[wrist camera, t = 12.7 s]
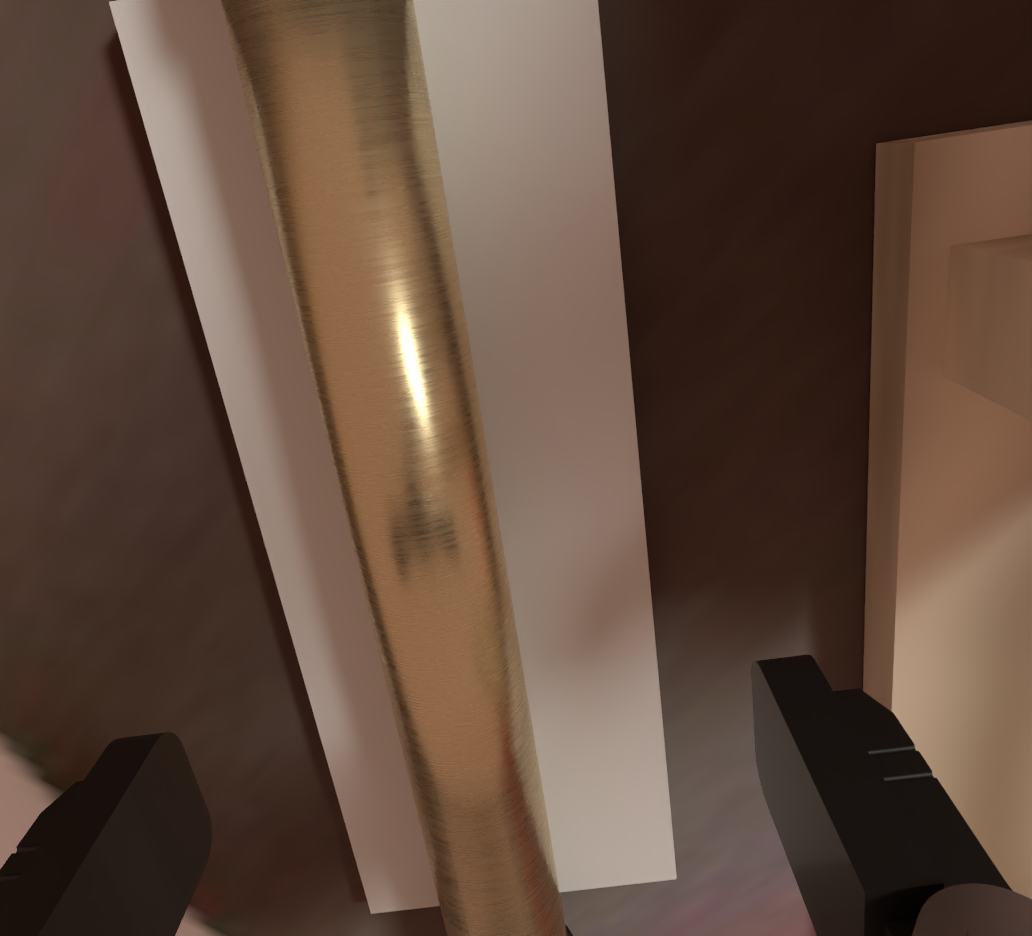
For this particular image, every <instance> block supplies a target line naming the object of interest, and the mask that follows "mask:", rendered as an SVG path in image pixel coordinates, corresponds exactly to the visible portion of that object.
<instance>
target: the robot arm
mask: <svg viewBox="0 0 1032 936" xmlns="http://www.w3.org/2000/svg"><path fill="white" fill-rule="evenodd" d="M751 674H752V696H753V715H754V735H755V753H756V761H757V767H758V773H759V778H760V782H761V786H762V790H763V793H764V796H765V799H766V802H767V805H768V808H769V810H770V813H771V816H772V818H773V821H774V823H775V826H776V829H777V831H778V834H779V837H780V839H781V842H782V844H783V847H784V850H785V852H786V855H787V858H788V860H789V863H790V866H791V868H792V871H793V873H794V876H795V879H796V881H797V884H798V887H799V889H800V892H801V895H802V897H803V900H804V902H805V905H806V908H807V910H808V913H809V916H810V918H811V921H812V923H813V926H814V929H815V931H816V934H817V936H1032V899H1030V898H1028V897H1026V896H1024V895H1021V894H1019V893H1017V892H1014V891H1013V890H1012V889H1011V888H1010V886H1009V885H1008V884H1007V882H1006V881H1005V880H1004V878H1003V877H1002V875H1001V874H1000V872H999V871H998V869H997V868H996V866H995V865H994V863H993V862H992V860H991V859H990V857H989V856H988V854H987V853H986V851H985V850H984V848H983V847H982V845H981V844H980V842H979V841H978V839H977V838H976V836H975V835H974V833H973V832H972V830H971V829H970V827H969V826H968V824H967V823H966V821H965V820H964V818H963V817H962V815H961V814H960V812H959V811H958V809H957V808H956V806H955V805H954V803H953V801H952V800H951V798H950V797H949V795H948V794H947V792H946V791H945V789H944V788H943V786H942V785H941V783H940V782H939V780H938V779H937V778H934V777H933V774H932V770H931V768H930V767H929V765H928V764H927V762H926V761H925V759H924V758H923V756H922V755H921V753H920V752H919V751H916V749H915V744H914V743H913V741H912V740H911V738H910V737H909V735H908V734H907V732H906V731H905V729H904V728H903V726H902V725H901V723H900V722H899V720H898V719H897V717H896V716H895V714H894V713H893V712H891V711H890V710H889V709H887V708H886V707H885V706H883V705H882V704H880V703H879V702H878V701H876V700H875V699H873V698H872V697H871V696H869V695H868V694H867V693H865V692H864V691H862V690H861V689H852V690H844V691H836V692H833V691H832V689H831V687H830V685H829V684H828V682H827V680H826V679H825V677H824V675H823V673H822V672H821V670H820V668H819V667H818V665H817V663H816V661H815V660H814V658H813V657H812V656H810V655H801V656H793V657H785V658H777V659H769V660H761V661H754V662H753V664H752V671H751ZM211 836H212V831H211V821H210V816H209V813H208V810H207V807H206V805H205V802H204V799H203V797H202V794H201V792H200V789H199V786H198V784H197V781H196V779H195V776H194V774H193V771H192V768H191V766H190V763H189V761H188V758H187V755H186V753H185V750H184V748H183V745H182V743H181V741H180V739H179V738H178V737H177V736H176V735H175V734H173V733H170V732H167V733H159V734H151V735H143V736H135V737H127V738H119V739H116V740H114V741H112V742H111V743H110V744H109V745H108V746H107V748H106V749H105V750H104V752H103V753H102V755H101V756H100V758H99V759H98V761H97V762H96V764H95V765H94V767H93V768H92V769H91V771H90V772H89V774H88V775H87V777H86V778H85V780H84V781H78V782H76V783H74V784H73V785H72V786H71V787H70V788H69V789H68V790H66V791H65V792H64V793H63V794H62V795H61V796H60V797H59V798H57V799H56V800H55V801H54V802H53V803H52V804H51V805H49V806H48V807H47V808H46V809H45V810H44V811H43V812H41V814H40V815H39V816H38V818H37V819H36V821H35V822H34V823H33V825H32V826H31V828H30V829H29V830H28V832H27V833H26V835H25V836H24V837H23V839H22V840H21V842H20V843H19V844H18V846H17V852H16V853H14V854H11V856H10V857H9V858H8V860H7V861H6V863H5V864H4V865H3V867H2V868H1V869H0V936H175V934H176V932H177V930H178V927H179V925H180V923H181V920H182V918H183V916H184V914H185V911H186V909H187V907H188V904H189V902H190V900H191V898H192V895H193V893H194V891H195V888H196V886H197V884H198V881H199V879H200V877H201V875H202V872H203V870H204V868H205V865H206V863H207V860H208V857H209V853H210V847H211Z"/></svg>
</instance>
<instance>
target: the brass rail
mask: <svg viewBox="0 0 1032 936" xmlns="http://www.w3.org/2000/svg"><path fill="white" fill-rule="evenodd" d="M221 3H222V7H223V11H224V16H225V20H226V24H227V28H228V32H229V36H230V40H231V45H232V49H233V53H234V57H235V61H236V65H237V69H238V73H239V78H240V82H241V86H242V90H243V94H244V98H245V102H246V107H247V111H248V115H249V119H250V123H251V127H252V131H253V135H254V140H255V144H256V148H257V152H258V156H259V160H260V164H261V169H262V173H263V177H264V181H265V185H266V189H267V193H268V197H269V202H270V206H271V210H272V214H273V218H274V222H275V226H276V231H277V235H278V239H279V243H280V247H281V251H282V255H283V260H284V264H285V268H286V272H287V276H288V280H289V284H290V288H291V293H292V297H293V301H294V305H295V309H296V313H297V317H298V322H299V326H300V330H301V334H302V338H303V342H304V346H305V350H306V355H307V359H308V363H309V367H310V371H311V375H312V379H313V384H314V388H315V392H316V396H317V400H318V404H319V408H320V412H321V417H322V421H323V425H324V429H325V433H326V437H327V441H328V446H329V450H330V454H331V458H332V462H333V466H334V470H335V475H336V479H337V483H338V487H339V491H340V495H341V499H342V503H343V508H344V512H345V516H346V520H347V524H348V528H349V532H350V537H351V541H352V545H353V549H354V553H355V557H356V561H357V565H358V570H359V574H360V578H361V582H362V586H363V590H364V594H365V599H366V603H367V607H368V611H369V615H370V619H371V623H372V627H373V632H374V636H375V640H376V644H377V648H378V652H379V656H380V661H381V665H382V669H383V673H384V677H385V681H386V685H387V689H388V694H389V698H390V702H391V706H392V710H393V714H394V718H395V723H396V727H397V731H398V735H399V739H400V743H401V747H402V752H403V756H404V760H405V764H406V768H407V772H408V776H409V780H410V785H411V789H412V793H413V797H414V801H415V805H416V809H417V814H418V818H419V822H420V826H421V830H422V834H423V838H424V842H425V847H426V851H427V855H428V859H429V863H430V867H431V871H432V876H433V880H434V884H435V888H436V892H437V896H438V900H439V904H440V909H441V913H442V917H443V921H444V925H445V929H446V933H447V936H573V935H572V933H571V932H570V930H569V928H568V927H567V926H566V925H565V921H564V915H563V909H562V903H561V897H560V891H559V885H558V879H557V872H556V866H555V860H554V854H553V848H552V842H551V836H550V830H549V824H548V818H547V811H546V805H545V799H544V793H543V787H542V781H541V775H540V769H539V763H538V757H537V751H536V744H535V738H534V732H533V726H532V720H531V714H530V708H529V702H528V696H527V690H526V683H525V677H524V671H523V665H522V659H521V653H520V647H519V641H518V635H517V629H516V623H515V616H514V610H513V604H512V598H511V592H510V586H509V580H508V574H507V568H506V562H505V556H504V549H503V543H502V537H501V531H500V525H499V519H498V513H497V507H496V501H495V495H494V488H493V482H492V476H491V470H490V464H489V458H488V452H487V446H486V440H485V434H484V428H483V421H482V415H481V409H480V403H479V397H478V391H477V385H476V379H475V373H474V367H473V360H472V354H471V348H470V342H469V336H468V330H467V324H466V318H465V312H464V306H463V300H462V293H461V287H460V281H459V275H458V269H457V263H456V257H455V251H454V245H453V239H452V233H451V226H450V220H449V214H448V208H447V202H446V196H445V190H444V184H443V178H442V172H441V165H440V159H439V153H438V147H437V141H436V135H435V129H434V123H433V117H432V111H431V105H430V98H429V92H428V86H427V80H426V74H425V68H424V62H423V56H422V50H421V44H420V37H419V31H418V25H417V19H416V13H415V7H414V1H413V0H221Z"/></svg>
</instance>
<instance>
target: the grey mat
mask: <svg viewBox="0 0 1032 936" xmlns="http://www.w3.org/2000/svg"><path fill="white" fill-rule="evenodd" d="M413 1H414V7H415V13H416V19H417V25H418V31H419V37H420V44H421V50H422V56H423V62H424V68H425V74H426V80H427V86H428V92H429V98H430V105H431V111H432V117H433V123H434V129H435V135H436V141H437V147H438V153H439V159H440V165H441V172H442V178H443V184H444V190H445V196H446V202H447V208H448V214H449V220H450V226H451V233H452V239H453V245H454V251H455V257H456V263H457V269H458V275H459V281H460V287H461V293H462V300H463V306H464V312H465V318H466V324H467V330H468V336H469V342H470V348H471V354H472V360H473V367H474V373H475V379H476V385H477V391H478V397H479V403H480V409H481V415H482V421H483V428H484V434H485V440H486V446H487V452H488V458H489V464H490V470H491V476H492V482H493V488H494V495H495V501H496V507H497V513H498V519H499V525H500V531H501V537H502V543H503V549H504V556H505V562H506V568H507V574H508V580H509V586H510V592H511V598H512V604H513V610H514V616H515V623H516V629H517V635H518V641H519V647H520V653H521V659H522V665H523V671H524V677H525V683H526V690H527V696H528V702H529V708H530V714H531V720H532V726H533V732H534V738H535V744H536V751H537V757H538V763H539V769H540V775H541V781H542V787H543V793H544V799H545V805H546V811H547V818H548V824H549V830H550V836H551V842H552V848H553V854H554V860H555V866H556V872H557V879H558V885H559V891H560V892H567V891H576V890H585V889H594V888H602V887H611V886H620V885H629V884H637V883H646V882H655V881H664V880H673V879H677V877H676V866H675V855H674V844H673V833H672V822H671V810H670V799H669V788H668V777H667V766H666V755H665V744H664V732H663V721H662V710H661V699H660V688H659V677H658V665H657V654H656V643H655V632H654V621H653V610H652V599H651V587H650V576H649V565H648V554H647V543H646V532H645V521H644V509H643V498H642V487H641V476H640V465H639V454H638V442H637V431H636V420H635V409H634V398H633V387H632V376H631V364H630V353H629V342H628V331H627V320H626V309H625V298H624V286H623V275H622V264H621V253H620V242H619V231H618V219H617V208H616V197H615V186H614V175H613V164H612V153H611V141H610V130H609V119H608V108H607V97H606V86H605V75H604V63H603V52H602V41H601V30H600V19H599V8H598V0H413ZM109 4H110V8H111V11H112V15H113V18H114V22H115V25H116V29H117V32H118V35H119V39H120V42H121V46H122V49H123V53H124V56H125V60H126V63H127V67H128V70H129V74H130V77H131V81H132V84H133V88H134V91H135V95H136V98H137V102H138V105H139V109H140V112H141V115H142V119H143V122H144V126H145V129H146V133H147V136H148V140H149V143H150V147H151V150H152V154H153V157H154V161H155V164H156V168H157V171H158V175H159V178H160V182H161V185H162V189H163V192H164V195H165V199H166V202H167V206H168V209H169V213H170V216H171V220H172V223H173V227H174V230H175V234H176V237H177V241H178V244H179V248H180V251H181V255H182V258H183V262H184V265H185V269H186V272H187V276H188V279H189V282H190V286H191V289H192V293H193V296H194V300H195V303H196V307H197V310H198V314H199V317H200V321H201V324H202V328H203V331H204V335H205V338H206V342H207V345H208V349H209V352H210V356H211V359H212V362H213V366H214V369H215V373H216V376H217V380H218V383H219V387H220V390H221V394H222V397H223V401H224V404H225V408H226V411H227V415H228V418H229V422H230V425H231V429H232V432H233V436H234V439H235V442H236V446H237V449H238V453H239V456H240V460H241V463H242V467H243V470H244V474H245V477H246V481H247V484H248V488H249V491H250V495H251V498H252V502H253V505H254V509H255V512H256V516H257V519H258V522H259V526H260V529H261V533H262V536H263V540H264V543H265V547H266V550H267V554H268V557H269V561H270V564H271V568H272V571H273V575H274V578H275V582H276V585H277V589H278V592H279V596H280V599H281V603H282V606H283V609H284V613H285V616H286V620H287V623H288V627H289V630H290V634H291V637H292V641H293V644H294V648H295V651H296V655H297V658H298V662H299V665H300V669H301V672H302V676H303V679H304V683H305V686H306V689H307V693H308V696H309V700H310V703H311V707H312V710H313V714H314V717H315V721H316V724H317V728H318V731H319V735H320V738H321V742H322V745H323V749H324V752H325V756H326V759H327V763H328V766H329V769H330V773H331V776H332V780H333V783H334V787H335V790H336V794H337V797H338V801H339V804H340V808H341V811H342V815H343V818H344V822H345V825H346V829H347V832H348V836H349V839H350V843H351V846H352V849H353V853H354V856H355V860H356V863H357V867H358V870H359V874H360V877H361V881H362V884H363V888H364V891H365V895H366V898H367V902H368V905H369V909H370V912H371V914H374V913H383V912H391V911H400V910H409V909H418V908H427V907H435V906H440V904H439V900H438V896H437V892H436V888H435V884H434V880H433V876H432V871H431V867H430V863H429V859H428V855H427V851H426V847H425V842H424V838H423V834H422V830H421V826H420V822H419V818H418V814H417V809H416V805H415V801H414V797H413V793H412V789H411V785H410V780H409V776H408V772H407V768H406V764H405V760H404V756H403V752H402V747H401V743H400V739H399V735H398V731H397V727H396V723H395V718H394V714H393V710H392V706H391V702H390V698H389V694H388V689H387V685H386V681H385V677H384V673H383V669H382V665H381V661H380V656H379V652H378V648H377V644H376V640H375V636H374V632H373V627H372V623H371V619H370V615H369V611H368V607H367V603H366V599H365V594H364V590H363V586H362V582H361V578H360V574H359V570H358V565H357V561H356V557H355V553H354V549H353V545H352V541H351V537H350V532H349V528H348V524H347V520H346V516H345V512H344V508H343V503H342V499H341V495H340V491H339V487H338V483H337V479H336V475H335V470H334V466H333V462H332V458H331V454H330V450H329V446H328V441H327V437H326V433H325V429H324V425H323V421H322V417H321V412H320V408H319V404H318V400H317V396H316V392H315V388H314V384H313V379H312V375H311V371H310V367H309V363H308V359H307V355H306V350H305V346H304V342H303V338H302V334H301V330H300V326H299V322H298V317H297V313H296V309H295V305H294V301H293V297H292V293H291V288H290V284H289V280H288V276H287V272H286V268H285V264H284V260H283V255H282V251H281V247H280V243H279V239H278V235H277V231H276V226H275V222H274V218H273V214H272V210H271V206H270V202H269V197H268V193H267V189H266V185H265V181H264V177H263V173H262V169H261V164H260V160H259V156H258V152H257V148H256V144H255V140H254V135H253V131H252V127H251V123H250V119H249V115H248V111H247V107H246V102H245V98H244V94H243V90H242V86H241V82H240V78H239V73H238V69H237V65H236V61H235V57H234V53H233V49H232V45H231V40H230V36H229V32H228V28H227V24H226V20H225V16H224V11H223V7H222V3H221V0H118V1H112V2H109Z"/></svg>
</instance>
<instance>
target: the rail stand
mask: <svg viewBox="0 0 1032 936" xmlns="http://www.w3.org/2000/svg"><path fill="white" fill-rule="evenodd" d="M863 691H864V692H865V693H867V694H868V695H869V696H871V697H872V698H873V699H875V700H876V701H878V702H879V703H880V704H882V705H883V706H885V707H886V708H887V709H889V710H890V711H891V712H893V713H894V714H895V716H896V717H897V719H898V720H899V722H900V723H901V725H902V726H903V728H904V729H905V731H906V732H907V734H908V735H909V737H910V738H911V740H912V741H913V743H914V744H915V749H916V751H919V752H920V753H921V755H922V756H923V758H924V759H925V761H926V762H927V764H928V765H929V767H930V768H931V770H932V774H933V777H934V778H937V779H938V780H939V782H940V783H941V785H942V786H943V788H944V789H945V791H946V792H947V794H948V795H949V797H950V798H951V800H952V801H953V803H954V805H955V806H956V808H957V809H958V811H959V812H960V814H961V815H962V817H963V818H964V820H965V821H966V823H967V824H968V826H969V827H970V829H971V830H972V832H973V833H974V835H975V836H976V838H977V839H978V841H979V842H980V844H981V845H982V847H983V848H984V850H985V851H986V853H987V854H988V856H989V857H990V859H991V860H992V862H993V863H994V865H995V866H996V868H997V869H998V871H999V872H1000V874H1001V875H1002V877H1003V878H1004V880H1005V881H1006V882H1007V884H1008V885H1009V886H1010V888H1011V889H1012V890H1013V891H1014V892H1017V893H1019V894H1021V895H1024V896H1026V897H1028V898H1030V899H1032V120H1030V121H1024V122H1017V123H1010V124H1004V125H997V126H990V127H983V128H977V129H970V130H963V131H957V132H950V133H943V134H936V135H930V136H923V137H916V138H910V139H903V140H896V141H890V142H883V143H876V172H875V214H874V255H873V296H872V338H871V379H870V420H869V462H868V503H867V544H866V586H865V627H864V668H863Z"/></svg>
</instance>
